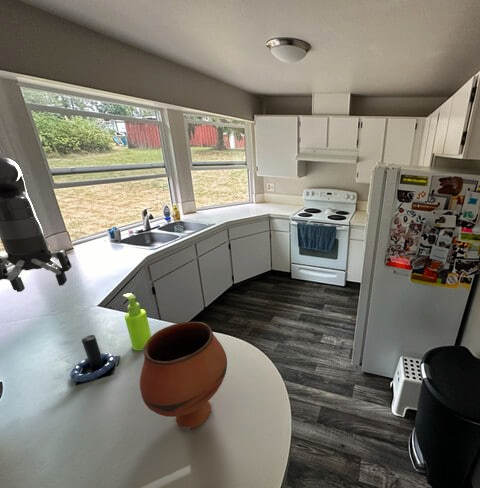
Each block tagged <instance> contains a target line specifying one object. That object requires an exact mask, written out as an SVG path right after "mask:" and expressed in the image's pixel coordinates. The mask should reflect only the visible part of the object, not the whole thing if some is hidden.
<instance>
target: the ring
mask: <svg viewBox="0 0 480 488" xmlns="http://www.w3.org/2000/svg"><path fill="white" fill-rule="evenodd" d="M101 356H102V359H103V360H107V363H106V365H104V366H103V367H102V368H101V369H99V370H97V371H95V372H93V373H89V374H81V371H82V369H83V368H84V367H85V366H87V365H88V364H90V363H89V361H88V358H85V359H83V360H81V361H80V362H79V363H77V364H76V365H74V367H73V368H72V370H71V371H70V374H69V376H70V379H71V380H72V381H73V382H75V383H76V382H85V381H89V380H93V379H96V378H97V377H99V376H101V375H103V374H105V373H106V372H107V371H109V370H110V369H111V368H112V367H113V365H114V363H115V361H116V358H115V356H114V355H113V353H107V352H101Z"/></svg>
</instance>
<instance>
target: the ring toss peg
mask: <svg viewBox="0 0 480 488" xmlns="http://www.w3.org/2000/svg"><path fill="white" fill-rule="evenodd" d="M81 343H82V346H83V349H84V352H85V355H86V357H87V358H88V361H89V363H90V364H88V365H87V366H85V367H84V368H83V369H82V370H81V371H80V374H89V373H93V372H95V371H97V370H99V369H101V368H102V367H103V366H104V365H106V363H107V360H103V359H102V356H101V354H102V352H101V349H100V347H99V344H98V341H97V337H96V335H94V334H89V335H86V336H84V337H83V338H82V339H81ZM114 357H115V358H116V361H115V363H114V365H113V367H112V368H111V369H110V370H109V371H107V372H106V373H105V374H103V375H101V376H99V377H97V378H96V379H93V380H89V381H85V382H76V381H75V384H74V387H76V386H79V385H83V384H87V383H90V382H94V381H98V380H100V379H104V378H108V377H111V376H114V375H115V371H116V368H117V367H118V366H119V363H120V361H121V355H115V356H114ZM87 358H86V359H87Z"/></svg>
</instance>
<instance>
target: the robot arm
mask: <svg viewBox="0 0 480 488" xmlns="http://www.w3.org/2000/svg"><path fill="white" fill-rule="evenodd" d="M0 241H1V244H2V246H3V249H4V251H5V253H6V254H7V256H2V255H0V281H1V280H7V281H9V283H10V285H11V287H12V289H13V291H16V292H17V293H21V292H23V291H24V290H25V289H26V287H25V284H24V282H23V279H22V277H21V276H20V274H21V273H22V272H23V271H31V270H41V269H45V270H46V271H50V272H52V273H53V274H55V275H54V276H55V278H56V281H57V285H58V286H59V287H62V286H64V285H65V284H66V282H67V281H68V278H67V276H66V272H68V271H70V270H71V268H73V267H72V266H73V265H72V263H71V261H70V259H69V255H68V253H67V251H66V250H65V249H60V250H58V251H53V252H52V251H51V250H50V249H49V246H48V242H47V239H46V237H45V234H44V232H43V228H42V225H41V223H40V221H39V220H38V217H37V215H36V212H35V209H34V206H33V204H32V202H31V200H30V198H29V195H28V192H27V187H26V184H25V180H24V177H23V173H22V170H21V168H20V166H19V165H18V164H17V163H16V162H15V161H14V160H12V159H11V158H8V157H6V156H3V155H0ZM52 258H55V260H58V262H59V264H60V265H59V264H58V263H57V262H56V261H54V259H53V260H52ZM8 263H9V264H11V265H13V268H12V270H11V271H10V272H9V271H8V268H7V264H8Z"/></svg>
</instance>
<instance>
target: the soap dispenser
mask: <svg viewBox="0 0 480 488" xmlns="http://www.w3.org/2000/svg"><path fill="white" fill-rule="evenodd" d="M122 297H123V298H125V299H127V300H128V305H126V306H127V307H126V310H127V313H126V314H125V315H124V320H125V324H126V329H127V331H128V335H129V339H130V343H131V346H132V349H133V350H134V351H144V346H145V344H146V343H147V341H148V340H149V339H150V338H151V337H152V332H151V328H150V325H149V320H148V315H147V311H146V309H143V308H141V306H140V303H139V302H136V300H137V296H136V295H135V294H133V293H130V292H128V293H125V294H123V295H122Z"/></svg>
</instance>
